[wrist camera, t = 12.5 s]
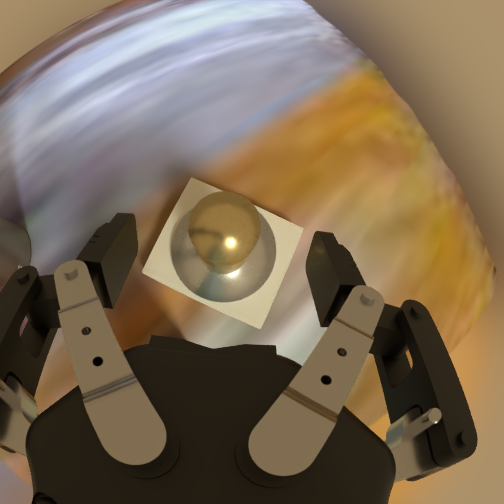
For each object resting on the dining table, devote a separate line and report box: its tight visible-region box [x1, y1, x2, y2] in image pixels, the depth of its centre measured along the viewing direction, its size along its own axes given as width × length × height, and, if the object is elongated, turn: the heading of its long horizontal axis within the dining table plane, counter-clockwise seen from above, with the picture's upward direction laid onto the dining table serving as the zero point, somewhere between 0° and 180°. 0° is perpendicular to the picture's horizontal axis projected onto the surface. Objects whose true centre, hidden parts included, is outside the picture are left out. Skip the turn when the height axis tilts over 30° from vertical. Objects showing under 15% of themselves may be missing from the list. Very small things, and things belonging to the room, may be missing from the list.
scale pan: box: [171, 209, 276, 303], centre depth 29 cm, size 11×11×1 cm
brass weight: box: [188, 191, 261, 275], centre depth 24 cm, size 5×5×10 cm
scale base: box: [142, 177, 303, 329], centre depth 31 cm, size 14×12×3 cm
